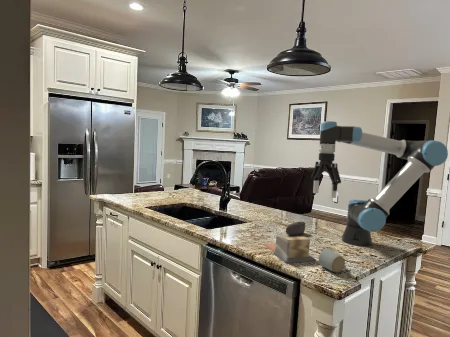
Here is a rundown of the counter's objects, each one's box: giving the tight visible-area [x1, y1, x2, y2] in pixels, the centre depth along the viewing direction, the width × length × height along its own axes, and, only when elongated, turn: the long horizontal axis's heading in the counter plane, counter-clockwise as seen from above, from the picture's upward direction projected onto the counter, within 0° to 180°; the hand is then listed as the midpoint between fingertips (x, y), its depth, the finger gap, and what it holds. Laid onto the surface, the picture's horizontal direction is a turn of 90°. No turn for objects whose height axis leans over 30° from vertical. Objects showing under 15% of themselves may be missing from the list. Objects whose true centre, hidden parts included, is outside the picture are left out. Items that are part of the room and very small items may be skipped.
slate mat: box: [272, 252, 317, 264], centre depth 144 cm, size 15×11×1 cm
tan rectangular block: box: [275, 235, 311, 261], centre depth 143 cm, size 13×10×8 cm
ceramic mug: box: [318, 248, 347, 273], centre depth 133 cm, size 11×8×8 cm
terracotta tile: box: [264, 242, 276, 253], centre depth 155 cm, size 2×10×12 cm
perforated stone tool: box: [285, 221, 306, 236], centre depth 183 cm, size 15×5×7 cm, turn 123°
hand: (324, 195), depth 163 cm, fingers open, 13 cm apart
